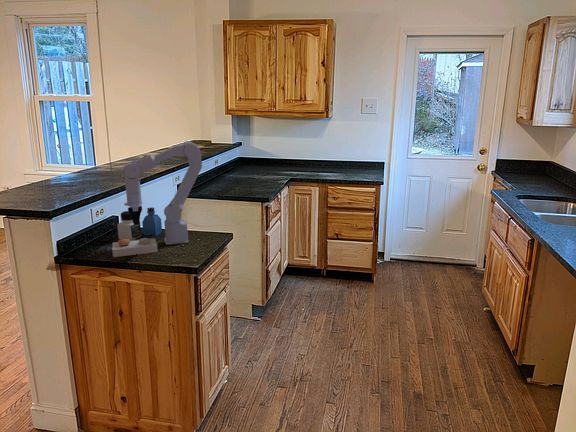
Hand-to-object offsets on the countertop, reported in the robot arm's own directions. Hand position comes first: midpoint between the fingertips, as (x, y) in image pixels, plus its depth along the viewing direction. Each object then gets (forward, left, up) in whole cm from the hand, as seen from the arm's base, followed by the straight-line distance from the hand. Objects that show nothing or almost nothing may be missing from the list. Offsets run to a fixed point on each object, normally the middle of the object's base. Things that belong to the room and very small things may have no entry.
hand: (136, 224), depth 193 cm
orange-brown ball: (+5, +7, -8) cm, 12 cm away
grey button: (-2, +7, -9) cm, 12 cm away
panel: (+2, +7, -9) cm, 12 cm away
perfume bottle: (-7, -16, -10) cm, 20 cm away
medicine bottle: (+3, -13, -10) cm, 16 cm away
